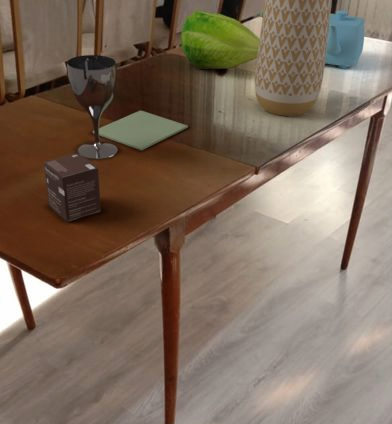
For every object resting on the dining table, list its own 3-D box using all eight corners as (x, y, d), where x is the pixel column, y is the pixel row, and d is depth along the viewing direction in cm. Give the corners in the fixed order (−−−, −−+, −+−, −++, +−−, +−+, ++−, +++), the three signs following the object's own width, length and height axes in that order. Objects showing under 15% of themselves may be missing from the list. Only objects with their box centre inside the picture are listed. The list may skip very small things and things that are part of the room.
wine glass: (66, 148, 113) (57, 60, 103) (103, 137, 117) (97, 52, 107) (92, 163, 108) (84, 73, 98) (129, 152, 112) (125, 64, 103)
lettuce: (250, 85, 141) (256, 28, 133) (169, 71, 147) (170, 15, 139) (269, 68, 151) (275, 13, 143) (193, 55, 156) (195, 2, 148)
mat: (141, 150, 113) (141, 148, 113) (92, 133, 118) (92, 131, 118) (187, 127, 122) (187, 125, 122) (140, 112, 127) (140, 110, 127)
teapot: (299, 70, 150) (307, 18, 143) (316, 50, 163) (323, 1, 156) (350, 78, 147) (361, 25, 140) (363, 57, 160) (373, 7, 153)
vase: (323, 120, 127) (354, -58, 107) (256, 119, 126) (274, -61, 106) (310, 96, 137) (336, -71, 117) (248, 95, 136) (263, -73, 116)
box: (48, 206, 97) (41, 161, 92) (82, 196, 100) (78, 151, 95) (67, 223, 93) (61, 177, 88) (102, 211, 96) (98, 166, 91)
